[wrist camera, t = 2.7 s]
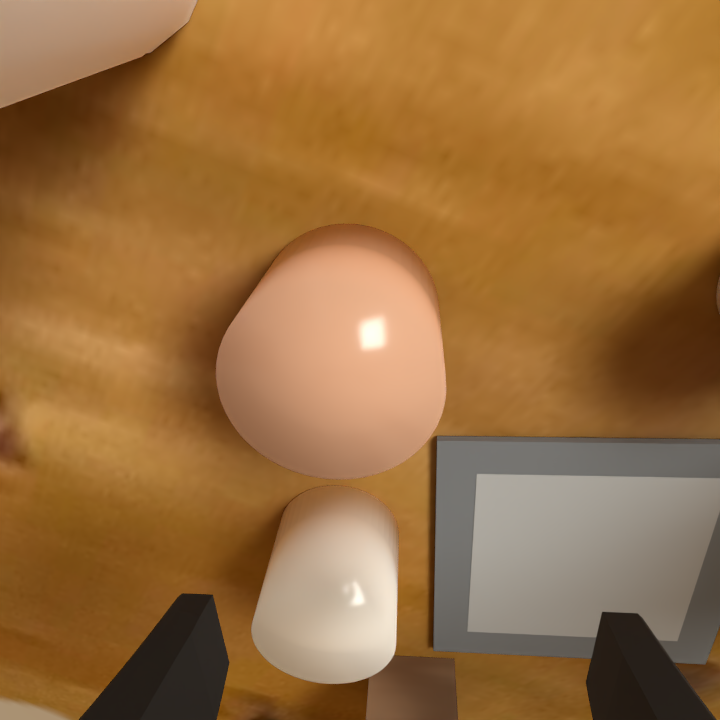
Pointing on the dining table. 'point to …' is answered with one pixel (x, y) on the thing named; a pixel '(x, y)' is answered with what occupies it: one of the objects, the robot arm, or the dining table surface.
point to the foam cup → (77, 39)
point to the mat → (575, 543)
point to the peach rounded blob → (337, 356)
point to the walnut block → (413, 690)
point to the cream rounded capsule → (331, 588)
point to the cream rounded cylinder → (718, 295)
